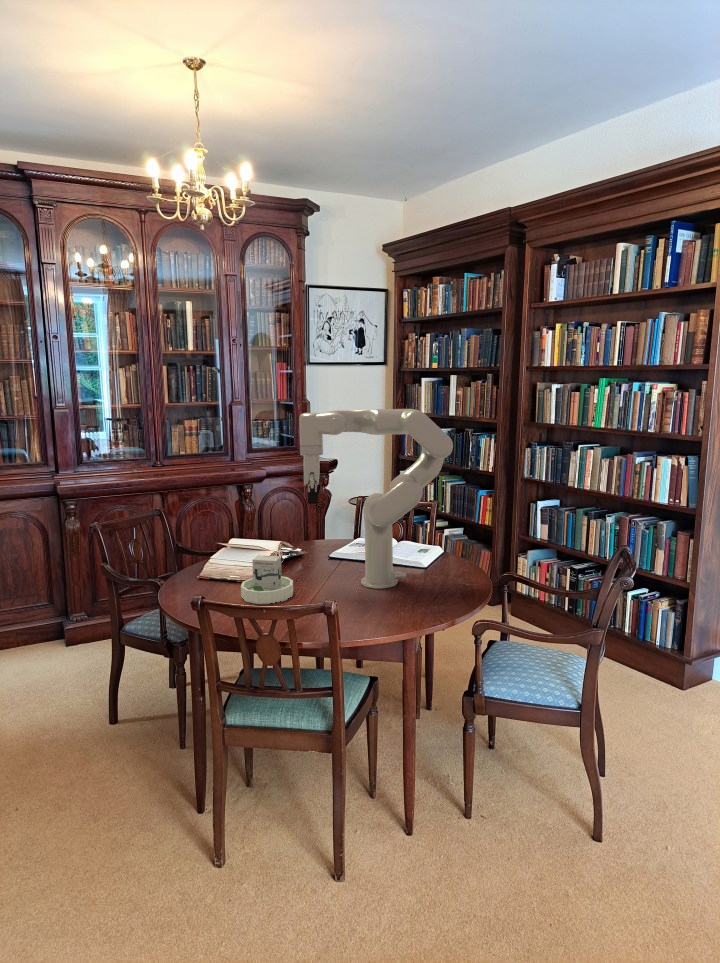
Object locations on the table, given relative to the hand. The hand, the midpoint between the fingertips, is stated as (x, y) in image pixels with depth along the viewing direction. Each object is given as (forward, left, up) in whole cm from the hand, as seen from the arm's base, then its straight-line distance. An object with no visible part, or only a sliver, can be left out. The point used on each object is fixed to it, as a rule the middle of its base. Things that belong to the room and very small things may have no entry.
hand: (313, 500), depth 216 cm
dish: (+16, +6, -30) cm, 35 cm away
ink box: (+16, +6, -30) cm, 34 cm away
